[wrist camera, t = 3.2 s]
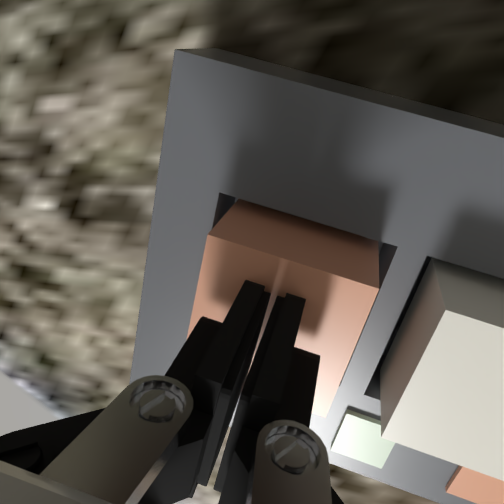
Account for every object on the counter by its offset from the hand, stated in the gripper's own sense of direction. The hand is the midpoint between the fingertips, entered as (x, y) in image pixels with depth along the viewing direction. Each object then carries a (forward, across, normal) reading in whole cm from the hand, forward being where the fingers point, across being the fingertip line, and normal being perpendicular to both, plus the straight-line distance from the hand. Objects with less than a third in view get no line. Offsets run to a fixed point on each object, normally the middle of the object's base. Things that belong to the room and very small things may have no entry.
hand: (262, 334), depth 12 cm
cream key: (+3, -6, 0) cm, 7 cm away
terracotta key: (+3, 0, 0) cm, 3 cm away
